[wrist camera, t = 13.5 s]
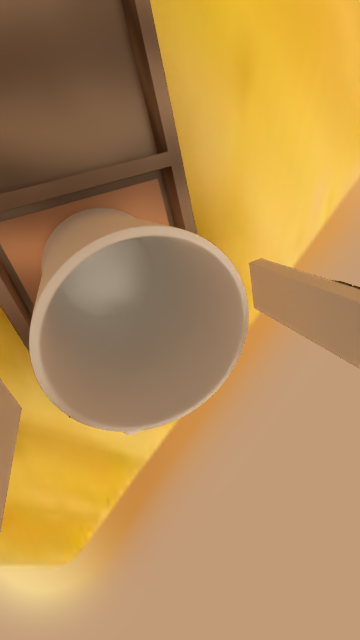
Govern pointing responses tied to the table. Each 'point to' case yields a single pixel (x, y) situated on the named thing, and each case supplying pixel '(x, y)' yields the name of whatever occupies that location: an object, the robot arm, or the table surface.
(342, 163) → the table surface
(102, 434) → the table surface
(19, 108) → the rack
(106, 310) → the mug
